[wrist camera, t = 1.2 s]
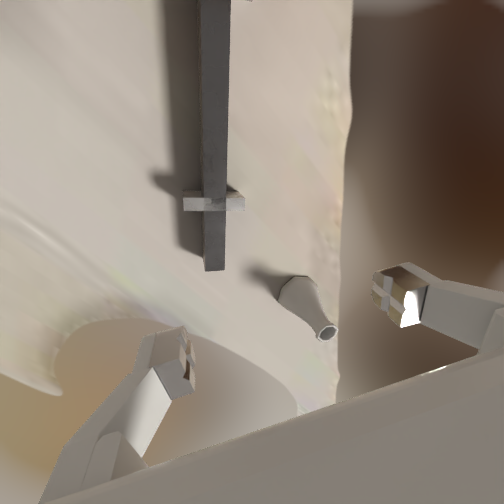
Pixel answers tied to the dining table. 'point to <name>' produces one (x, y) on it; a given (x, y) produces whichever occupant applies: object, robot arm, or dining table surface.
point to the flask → (307, 306)
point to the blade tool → (213, 131)
